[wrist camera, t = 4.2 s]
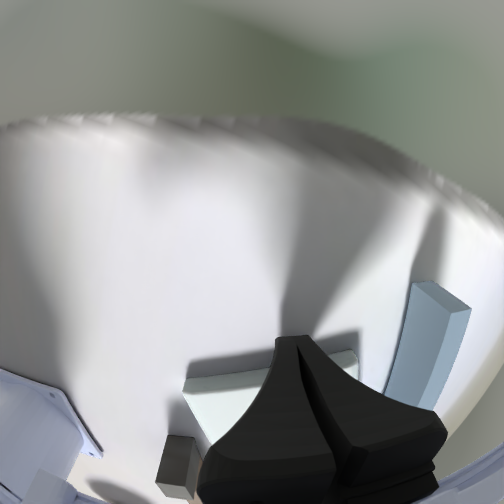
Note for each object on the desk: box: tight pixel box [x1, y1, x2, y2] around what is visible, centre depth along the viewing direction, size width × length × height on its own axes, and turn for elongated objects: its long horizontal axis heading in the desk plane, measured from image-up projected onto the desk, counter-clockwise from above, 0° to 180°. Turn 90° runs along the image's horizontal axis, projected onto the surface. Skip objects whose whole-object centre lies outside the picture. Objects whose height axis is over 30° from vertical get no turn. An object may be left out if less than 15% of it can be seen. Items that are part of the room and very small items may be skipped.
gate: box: [385, 281, 472, 411], centre depth 10 cm, size 12×2×4 cm, turn 2°
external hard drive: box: [182, 349, 359, 445], centre depth 13 cm, size 2×8×12 cm
